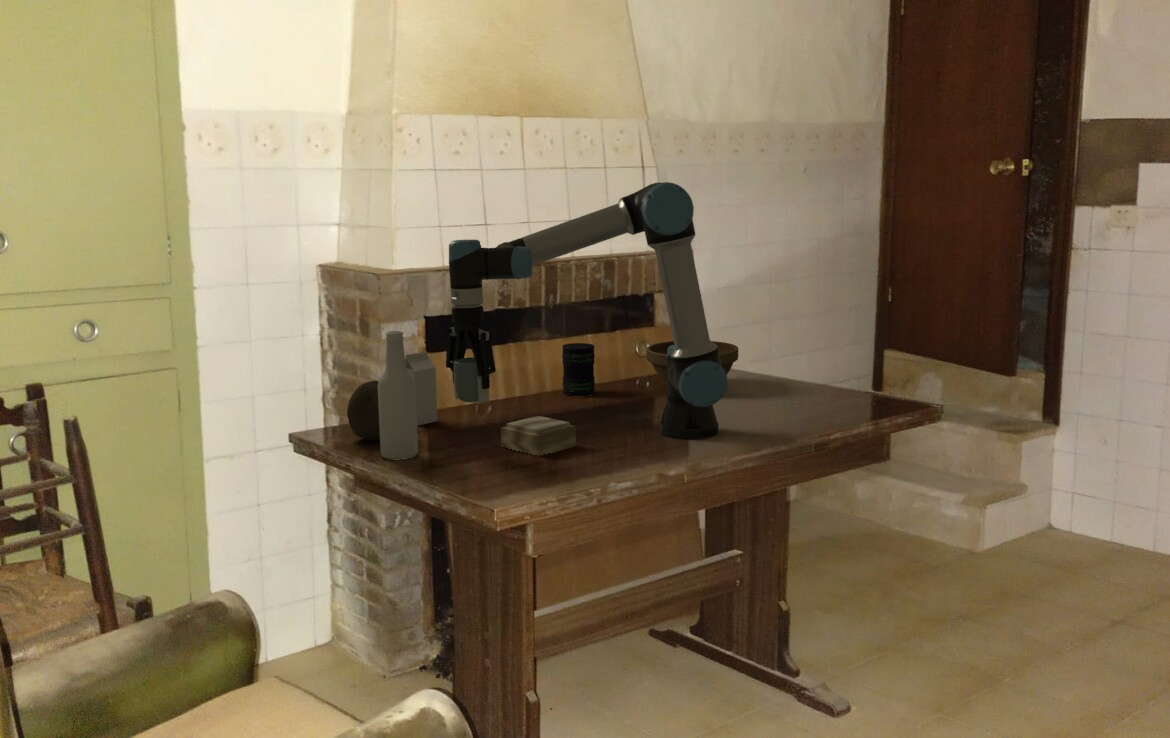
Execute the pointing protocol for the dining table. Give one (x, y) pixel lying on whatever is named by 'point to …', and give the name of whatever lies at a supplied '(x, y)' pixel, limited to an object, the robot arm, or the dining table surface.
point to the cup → (466, 379)
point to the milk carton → (423, 386)
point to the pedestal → (538, 435)
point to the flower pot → (659, 350)
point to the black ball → (365, 411)
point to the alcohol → (397, 403)
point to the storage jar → (578, 369)
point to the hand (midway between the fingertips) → (471, 399)
